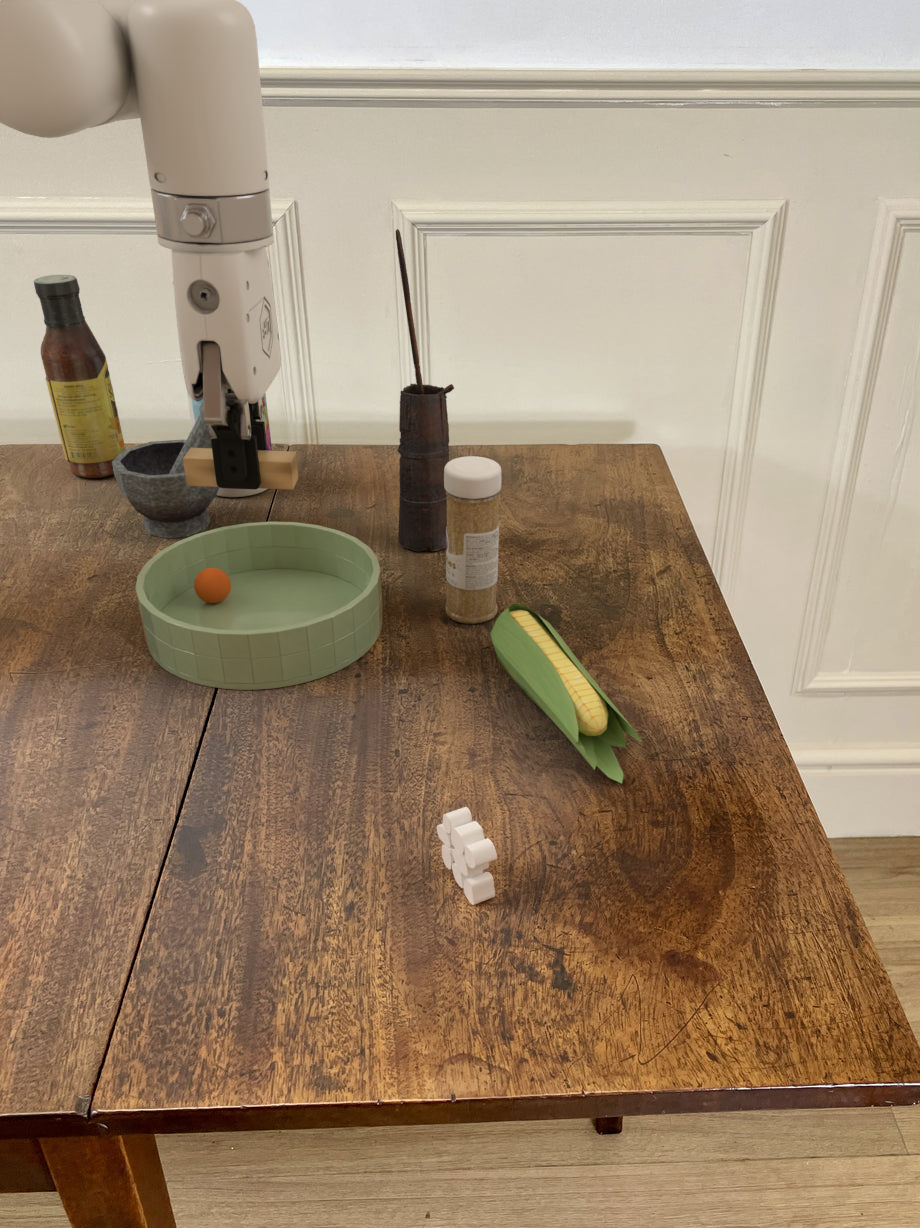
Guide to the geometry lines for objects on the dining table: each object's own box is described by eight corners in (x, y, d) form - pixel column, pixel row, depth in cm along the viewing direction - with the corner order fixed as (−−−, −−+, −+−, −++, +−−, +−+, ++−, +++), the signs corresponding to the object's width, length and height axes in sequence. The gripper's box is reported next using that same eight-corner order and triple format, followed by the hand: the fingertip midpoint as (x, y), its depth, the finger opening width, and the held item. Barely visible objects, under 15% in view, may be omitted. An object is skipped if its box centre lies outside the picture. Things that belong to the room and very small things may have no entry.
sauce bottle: (139, 470, 113) (104, 279, 102) (85, 486, 109) (43, 289, 98) (109, 453, 117) (72, 268, 106) (56, 468, 113) (11, 277, 102)
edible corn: (534, 637, 86) (536, 589, 84) (655, 780, 71) (662, 726, 68) (476, 649, 84) (477, 600, 82) (587, 798, 69) (592, 743, 67)
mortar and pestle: (122, 550, 97) (97, 426, 91) (127, 509, 105) (104, 392, 98) (245, 539, 100) (230, 418, 93) (241, 500, 107) (226, 385, 101)
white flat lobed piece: (496, 901, 61) (497, 845, 59) (474, 909, 61) (475, 853, 58) (457, 849, 65) (457, 794, 62) (437, 857, 64) (436, 802, 62)
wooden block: (298, 478, 80) (296, 451, 79) (293, 489, 78) (291, 462, 77) (194, 474, 80) (190, 447, 79) (186, 486, 78) (182, 458, 77)
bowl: (113, 686, 79) (101, 630, 76) (183, 568, 95) (174, 518, 92) (367, 693, 79) (363, 637, 76) (393, 574, 95) (391, 524, 92)
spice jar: (440, 602, 90) (438, 456, 83) (491, 597, 92) (493, 452, 84) (451, 629, 87) (450, 478, 79) (504, 623, 88) (508, 473, 80)
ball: (214, 615, 89) (231, 589, 90) (224, 602, 86) (241, 576, 88) (183, 594, 88) (201, 569, 89) (192, 581, 85) (211, 555, 87)
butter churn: (492, 524, 104) (497, 223, 89) (473, 566, 96) (475, 245, 81) (403, 515, 105) (393, 217, 90) (377, 556, 98) (361, 238, 82)
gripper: (244, 245, 62) (272, 526, 72) (292, 200, 75) (310, 443, 86) (118, 240, 62) (164, 522, 72) (189, 195, 75) (219, 439, 85)
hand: (243, 477), depth 79 cm, fingers closed on wooden block, 2 cm apart
